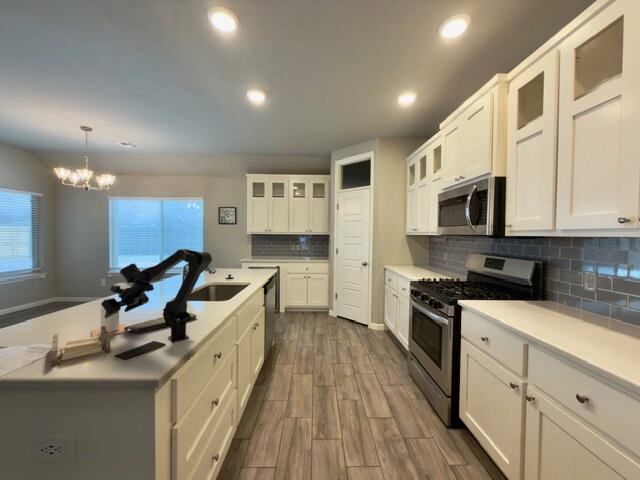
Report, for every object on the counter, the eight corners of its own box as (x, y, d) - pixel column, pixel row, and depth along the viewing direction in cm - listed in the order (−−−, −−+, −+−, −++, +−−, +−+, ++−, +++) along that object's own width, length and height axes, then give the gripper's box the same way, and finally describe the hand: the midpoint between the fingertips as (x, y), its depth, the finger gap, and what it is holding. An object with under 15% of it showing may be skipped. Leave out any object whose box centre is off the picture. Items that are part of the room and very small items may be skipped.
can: (109, 327, 120) (109, 301, 120) (122, 328, 119) (122, 302, 119) (96, 332, 113) (96, 305, 113) (110, 333, 113) (110, 306, 112)
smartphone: (166, 343, 103) (125, 359, 89) (166, 346, 103) (125, 363, 89) (154, 340, 106) (112, 355, 92) (154, 343, 106) (112, 358, 92)
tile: (128, 332, 116) (128, 330, 116) (93, 339, 108) (93, 337, 108) (124, 325, 125) (124, 324, 125) (91, 331, 116) (91, 330, 116)
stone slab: (123, 324, 118) (188, 309, 142) (123, 331, 118) (188, 314, 142) (132, 330, 112) (199, 312, 136) (132, 337, 112) (199, 319, 136)
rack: (110, 352, 96) (110, 339, 96) (51, 366, 86) (51, 351, 85) (104, 337, 110) (104, 325, 110) (53, 348, 99) (53, 335, 99)
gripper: (143, 274, 124) (123, 296, 126) (104, 280, 105) (82, 306, 107) (158, 291, 123) (137, 313, 125) (121, 300, 104) (98, 326, 106)
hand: (115, 314), depth 116 cm, fingers open, 9 cm apart
